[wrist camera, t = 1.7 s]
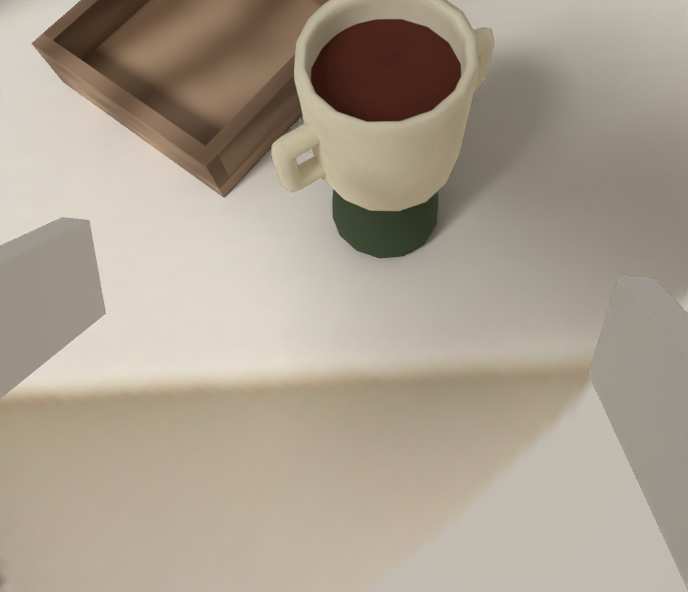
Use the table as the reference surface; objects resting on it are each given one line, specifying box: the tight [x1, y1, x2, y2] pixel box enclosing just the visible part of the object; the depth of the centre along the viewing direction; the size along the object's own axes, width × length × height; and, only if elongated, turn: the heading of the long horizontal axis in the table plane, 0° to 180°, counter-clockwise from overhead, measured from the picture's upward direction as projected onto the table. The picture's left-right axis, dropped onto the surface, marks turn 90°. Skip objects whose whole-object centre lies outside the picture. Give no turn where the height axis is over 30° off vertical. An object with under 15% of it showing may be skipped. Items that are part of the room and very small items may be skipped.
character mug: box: [271, 0, 494, 258], centre depth 25 cm, size 11×7×13 cm, turn 121°
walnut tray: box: [32, 0, 329, 197], centre depth 35 cm, size 16×16×4 cm
